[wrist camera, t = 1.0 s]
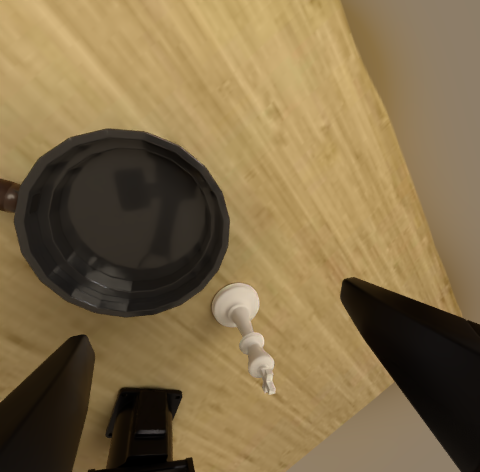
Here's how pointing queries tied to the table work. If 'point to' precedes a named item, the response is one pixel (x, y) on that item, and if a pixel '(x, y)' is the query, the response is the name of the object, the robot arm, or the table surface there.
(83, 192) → the pan
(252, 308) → the chess piece
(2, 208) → the pan handle
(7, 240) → the table surface
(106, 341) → the table surface
